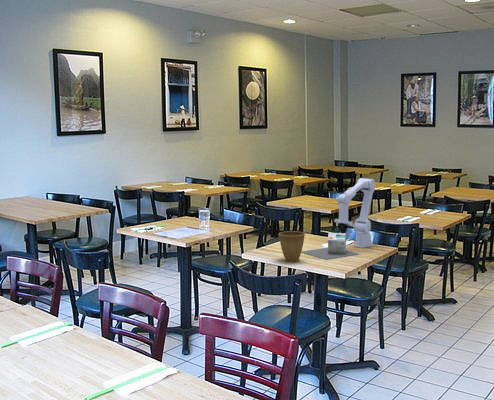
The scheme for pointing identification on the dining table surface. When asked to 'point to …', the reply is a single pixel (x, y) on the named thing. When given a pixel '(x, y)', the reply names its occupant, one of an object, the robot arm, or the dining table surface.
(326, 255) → the mat
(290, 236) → the plant pot
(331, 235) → the light bulb box
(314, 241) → the dining table surface
